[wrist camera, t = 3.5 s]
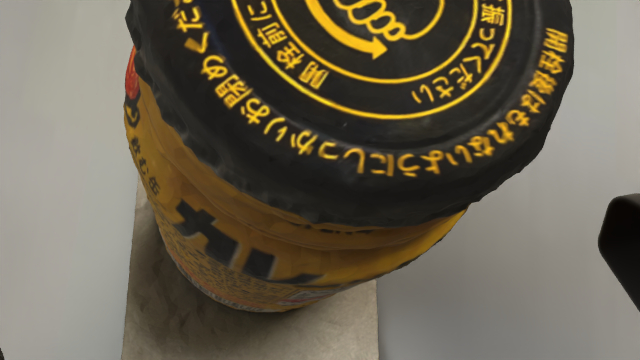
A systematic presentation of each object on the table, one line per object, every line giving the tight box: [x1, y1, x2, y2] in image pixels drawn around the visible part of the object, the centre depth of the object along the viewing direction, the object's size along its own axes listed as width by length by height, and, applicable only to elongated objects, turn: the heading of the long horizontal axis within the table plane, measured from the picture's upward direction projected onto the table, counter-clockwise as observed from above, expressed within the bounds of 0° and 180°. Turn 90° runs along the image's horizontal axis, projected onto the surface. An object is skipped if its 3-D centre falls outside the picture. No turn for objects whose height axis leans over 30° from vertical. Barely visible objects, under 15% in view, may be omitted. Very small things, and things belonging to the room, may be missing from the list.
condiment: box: [121, 0, 574, 360], centre depth 11 cm, size 7×8×12 cm
